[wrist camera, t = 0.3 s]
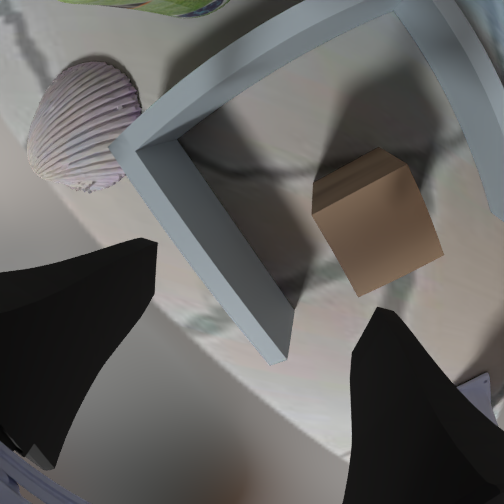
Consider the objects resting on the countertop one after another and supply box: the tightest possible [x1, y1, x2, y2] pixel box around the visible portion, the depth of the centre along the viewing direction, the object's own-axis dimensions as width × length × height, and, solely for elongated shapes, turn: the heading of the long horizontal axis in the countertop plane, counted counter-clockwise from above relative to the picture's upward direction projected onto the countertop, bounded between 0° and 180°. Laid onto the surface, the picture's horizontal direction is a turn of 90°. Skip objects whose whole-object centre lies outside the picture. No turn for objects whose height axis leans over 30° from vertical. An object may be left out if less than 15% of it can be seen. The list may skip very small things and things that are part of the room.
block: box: [312, 147, 444, 297], centre depth 15 cm, size 4×4×6 cm
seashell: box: [27, 61, 141, 193], centre depth 18 cm, size 10×6×10 cm
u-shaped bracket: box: [108, 0, 504, 366], centre depth 15 cm, size 15×18×5 cm
